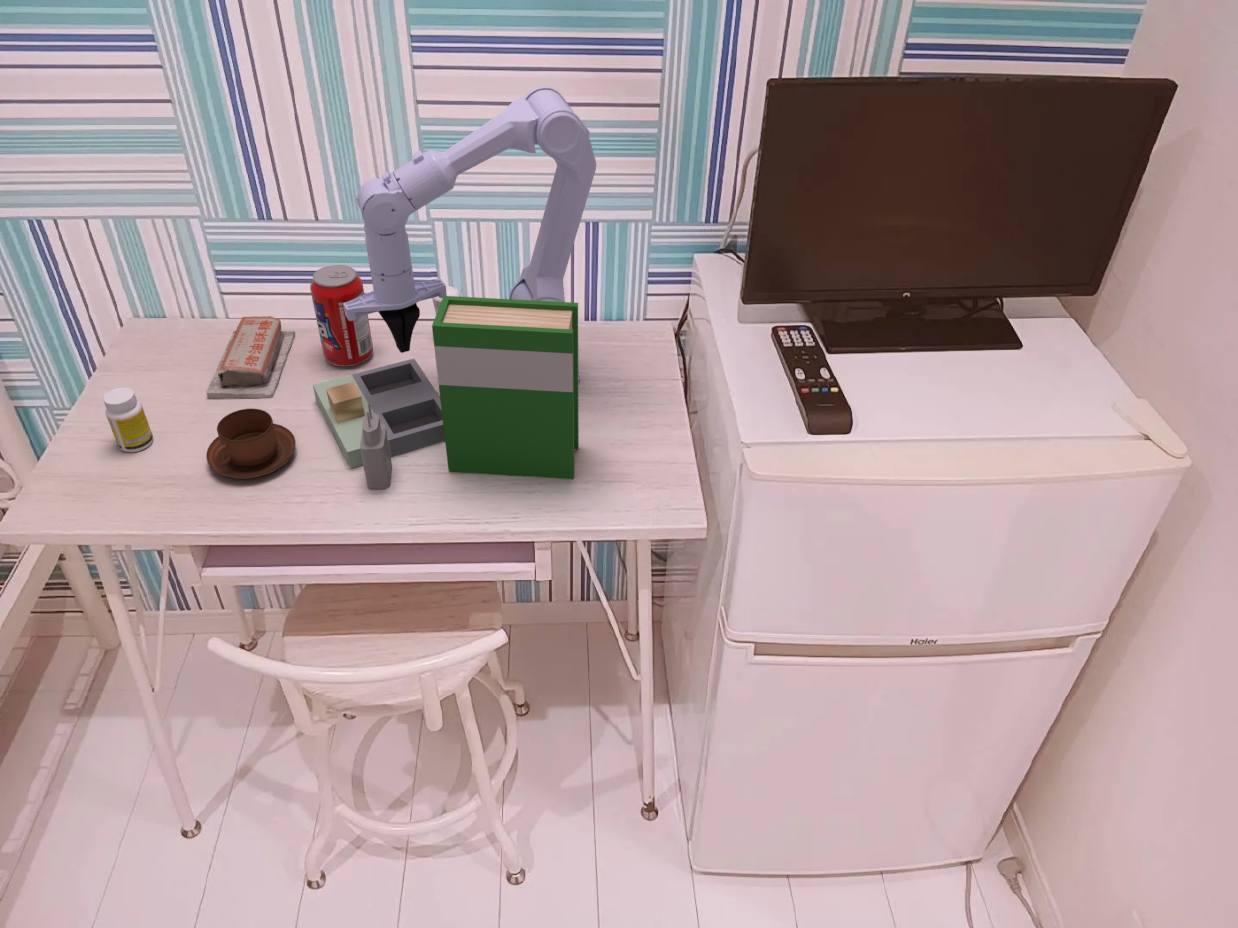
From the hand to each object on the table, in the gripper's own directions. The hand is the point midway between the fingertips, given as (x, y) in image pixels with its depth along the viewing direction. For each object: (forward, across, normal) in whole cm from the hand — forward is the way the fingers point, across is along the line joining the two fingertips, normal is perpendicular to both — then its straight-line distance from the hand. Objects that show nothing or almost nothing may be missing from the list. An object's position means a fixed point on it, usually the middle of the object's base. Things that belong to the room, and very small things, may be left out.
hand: (403, 348), depth 145 cm
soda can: (+9, +5, -16) cm, 19 cm away
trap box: (+9, +5, +3) cm, 11 cm away
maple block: (+6, +10, +3) cm, 12 cm away
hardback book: (+10, -8, +20) cm, 24 cm away
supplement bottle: (+9, +38, -8) cm, 40 cm away
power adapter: (+9, +10, +15) cm, 21 cm away
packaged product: (+10, +19, -20) cm, 29 cm away
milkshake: (+10, -12, -13) cm, 20 cm away
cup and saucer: (+10, +24, +3) cm, 26 cm away
